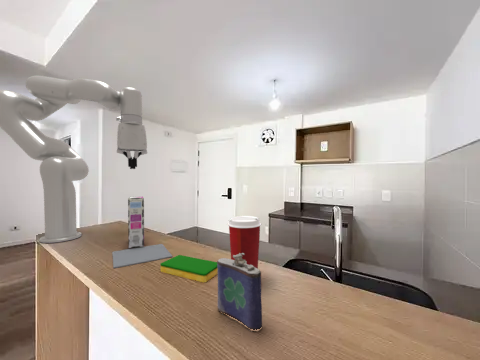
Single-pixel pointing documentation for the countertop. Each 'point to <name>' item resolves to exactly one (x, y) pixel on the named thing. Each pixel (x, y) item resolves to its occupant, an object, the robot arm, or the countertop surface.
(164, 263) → the dish sponge
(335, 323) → the countertop surface
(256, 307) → the flask
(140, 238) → the candy bar box
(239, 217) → the paper cup
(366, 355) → the countertop surface
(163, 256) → the mat
